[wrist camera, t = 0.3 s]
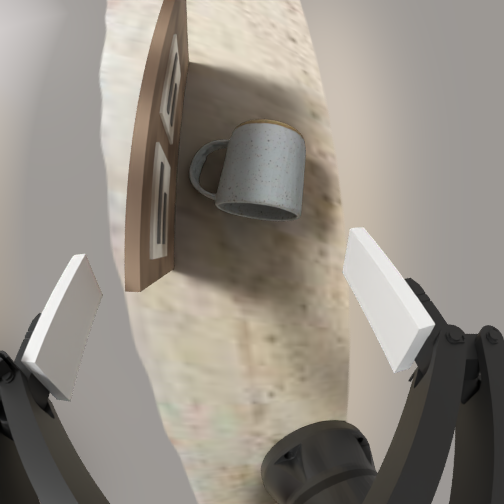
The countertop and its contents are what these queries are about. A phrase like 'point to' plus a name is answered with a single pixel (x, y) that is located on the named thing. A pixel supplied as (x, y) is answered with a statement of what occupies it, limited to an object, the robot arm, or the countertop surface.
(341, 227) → the countertop surface
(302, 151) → the ceramic mug
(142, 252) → the wooden board
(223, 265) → the countertop surface
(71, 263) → the robot arm
